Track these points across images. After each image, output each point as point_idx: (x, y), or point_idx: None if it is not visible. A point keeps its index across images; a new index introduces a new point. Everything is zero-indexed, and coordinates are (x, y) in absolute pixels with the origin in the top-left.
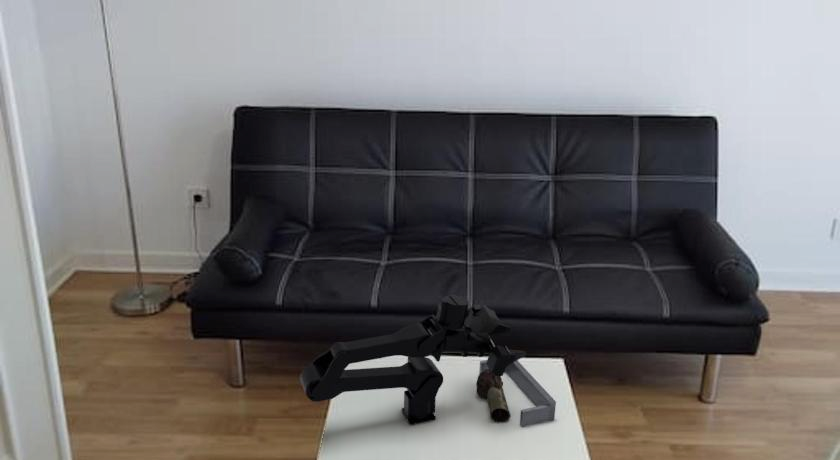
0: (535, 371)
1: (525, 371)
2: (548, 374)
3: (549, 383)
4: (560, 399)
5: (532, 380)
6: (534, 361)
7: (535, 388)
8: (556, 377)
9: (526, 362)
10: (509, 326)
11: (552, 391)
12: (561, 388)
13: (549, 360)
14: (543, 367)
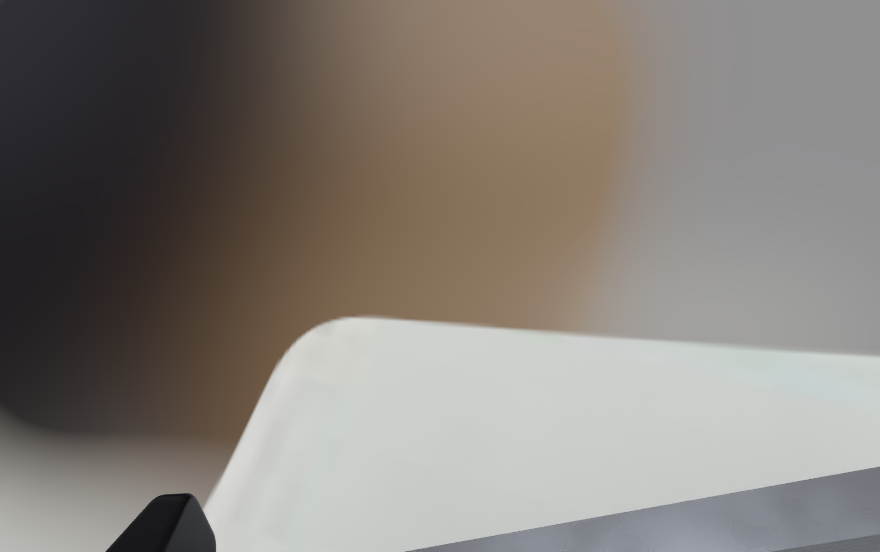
0: (383, 455)
1: (550, 547)
2: (442, 384)
3: (548, 404)
4: (771, 383)
5: (735, 528)
6: (276, 429)
7: (874, 542)
8: (489, 347)
9: (264, 482)
10: (144, 512)
11: (655, 410)
12: (624, 346)
13: (303, 343)
14: (358, 394)
